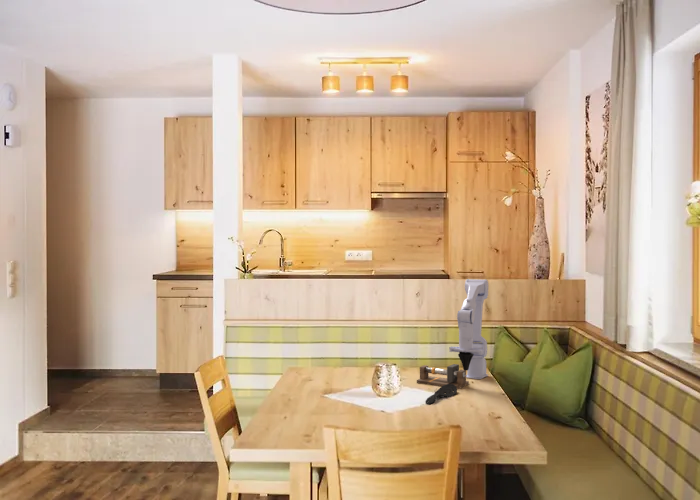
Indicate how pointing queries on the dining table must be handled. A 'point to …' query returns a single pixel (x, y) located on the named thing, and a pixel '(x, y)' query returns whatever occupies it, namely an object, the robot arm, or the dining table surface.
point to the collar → (452, 373)
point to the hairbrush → (442, 393)
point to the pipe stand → (438, 381)
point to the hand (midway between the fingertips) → (466, 370)
